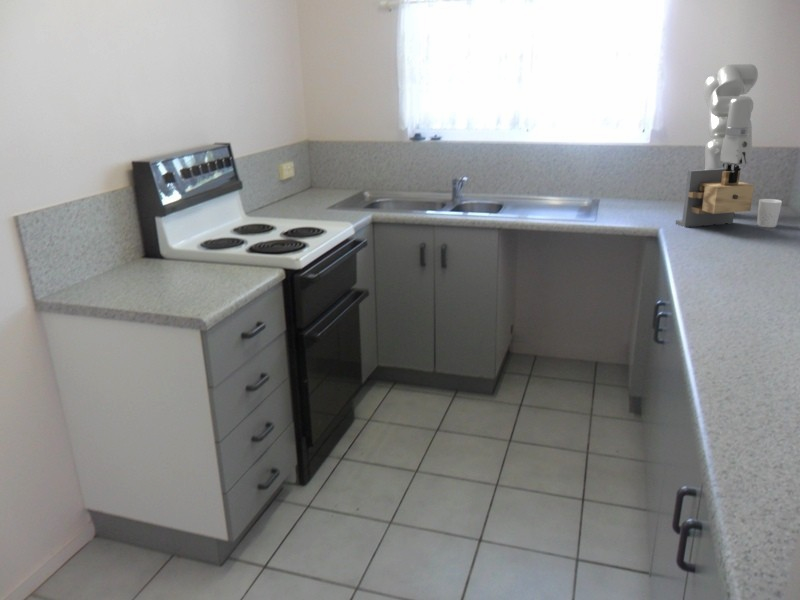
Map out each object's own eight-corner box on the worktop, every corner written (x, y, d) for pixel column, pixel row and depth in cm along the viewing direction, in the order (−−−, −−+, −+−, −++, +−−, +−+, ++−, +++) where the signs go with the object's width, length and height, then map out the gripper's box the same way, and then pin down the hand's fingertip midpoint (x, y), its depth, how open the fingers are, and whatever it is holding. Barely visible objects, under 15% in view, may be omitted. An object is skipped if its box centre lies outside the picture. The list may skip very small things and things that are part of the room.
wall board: (675, 223, 267) (681, 169, 260) (722, 220, 271) (730, 166, 264) (691, 229, 257) (698, 172, 250) (740, 225, 262) (748, 169, 255)
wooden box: (694, 208, 259) (699, 169, 254) (729, 205, 262) (735, 167, 257) (715, 214, 248) (720, 174, 243) (752, 211, 251) (758, 171, 246)
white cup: (755, 227, 259) (759, 201, 256) (755, 222, 265) (759, 198, 262) (777, 228, 255) (782, 203, 252) (777, 224, 262) (781, 199, 259)
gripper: (761, 133, 237) (753, 184, 243) (730, 130, 252) (724, 178, 258) (743, 134, 236) (736, 186, 242) (713, 131, 250) (707, 179, 256)
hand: (730, 181), depth 250 cm, fingers closed on wooden box
